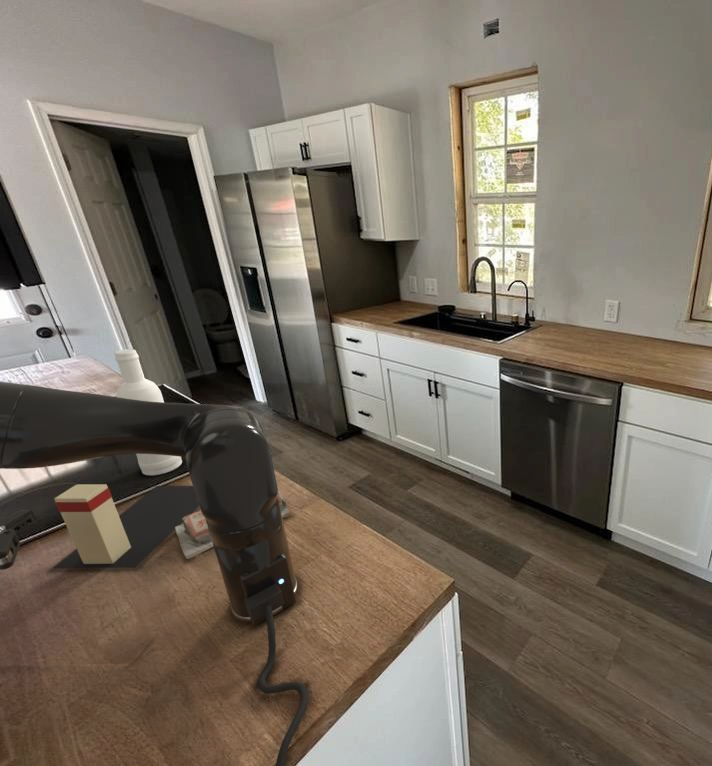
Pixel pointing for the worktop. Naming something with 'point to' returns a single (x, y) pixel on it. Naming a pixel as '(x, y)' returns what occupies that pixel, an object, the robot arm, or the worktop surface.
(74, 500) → the carton
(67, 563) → the mat
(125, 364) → the bottle
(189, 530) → the packaged product
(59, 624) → the worktop surface
